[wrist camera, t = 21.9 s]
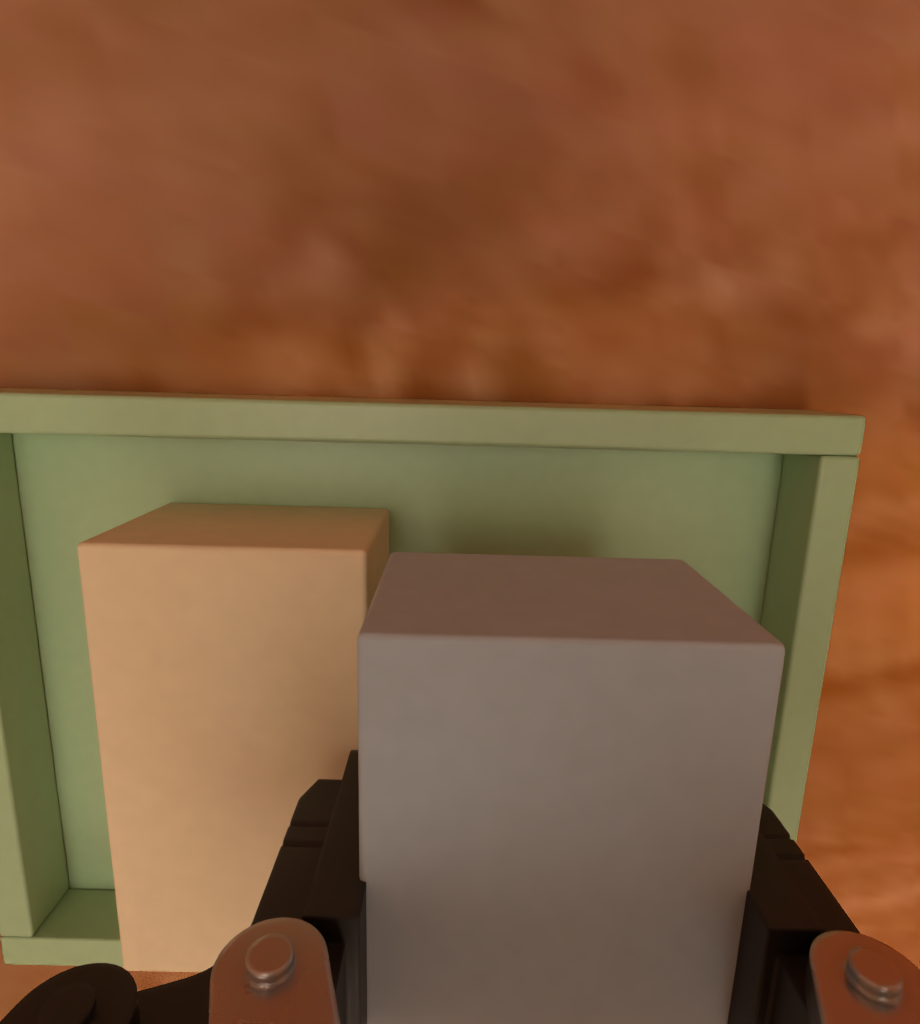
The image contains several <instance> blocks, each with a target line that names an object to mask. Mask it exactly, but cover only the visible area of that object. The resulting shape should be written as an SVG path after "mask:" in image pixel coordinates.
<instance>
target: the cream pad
mask: <svg viewBox="0 0 920 1024" xmlns="http://www.w3.org/2000/svg"><path fill="white" fill-rule="evenodd" d="M77 550H78V559H79V568H80V577H81V586H82V595H83V604H84V613H85V622H86V631H87V640H88V650H89V659H90V668H91V677H92V686H93V695H94V704H95V713H96V722H97V731H98V740H99V750H100V759H101V768H102V777H103V786H104V795H105V804H106V813H107V822H108V831H109V840H110V850H111V859H112V868H113V877H114V886H115V895H116V904H117V913H118V922H119V931H120V940H121V949H122V959H123V968H124V969H125V970H127V971H168V972H203V971H205V970H207V969H208V968H210V967H212V966H213V965H214V963H215V961H216V959H217V957H218V955H219V954H220V952H221V951H222V950H223V948H224V947H225V946H226V945H227V944H228V942H229V941H230V940H231V939H232V938H234V937H235V936H236V935H237V934H239V933H240V932H241V931H243V930H245V929H246V928H248V927H250V926H251V924H252V921H253V919H254V916H255V914H256V911H257V908H258V906H259V903H260V900H261V898H262V895H263V893H264V890H265V887H266V885H267V882H268V879H269V877H270V874H271V871H272V869H273V866H274V864H275V861H276V858H277V856H278V853H279V850H280V848H281V846H282V845H283V840H284V837H285V835H286V832H287V829H288V827H289V826H290V821H291V819H292V816H293V814H294V811H295V808H296V806H297V803H298V800H299V798H300V797H301V796H302V795H303V794H304V793H305V792H306V791H307V790H308V789H309V788H310V787H311V786H312V785H313V784H314V783H315V782H316V781H317V780H318V779H336V780H342V778H343V774H344V771H345V767H346V764H347V761H348V757H349V754H350V751H351V750H358V674H357V637H358V635H359V632H360V630H361V627H362V625H363V622H364V620H365V617H366V615H367V612H368V610H369V607H370V604H371V602H372V599H373V597H374V594H375V592H376V589H377V587H378V584H379V582H380V579H381V577H382V574H383V572H384V569H385V567H386V564H387V562H388V559H389V511H388V510H387V509H385V508H347V507H309V506H271V505H233V504H195V503H169V504H166V505H164V506H162V507H159V508H157V509H155V510H153V511H150V512H148V513H146V514H144V515H141V516H139V517H137V518H135V519H132V520H130V521H128V522H126V523H123V524H121V525H119V526H117V527H114V528H112V529H110V530H108V531H105V532H103V533H101V534H99V535H96V536H94V537H92V538H90V539H87V540H85V541H83V542H81V543H79V544H78V547H77Z"/></svg>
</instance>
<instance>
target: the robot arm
mask: <svg viewBox="0 0 920 1024" xmlns="http://www.w3.org/2000/svg"><path fill="white" fill-rule="evenodd" d="M0 1024H367V922H366V882H364V881H362V880H360V877H359V779H358V750H351V751H350V754H349V757H348V761H347V764H346V767H345V771H344V774H343V778H342V780H336V779H318V780H317V781H316V782H315V783H314V784H313V785H312V786H311V787H310V788H309V789H308V790H307V791H306V792H305V793H304V794H303V795H302V796H301V797H300V798H299V800H298V803H297V806H296V808H295V811H294V814H293V816H292V819H291V821H290V826H289V827H288V829H287V832H286V835H285V837H284V840H283V845H282V846H281V848H280V850H279V853H278V856H277V858H276V861H275V864H274V866H273V869H272V871H271V874H270V877H269V879H268V882H267V885H266V887H265V890H264V893H263V895H262V898H261V900H260V903H259V906H258V908H257V911H256V914H255V916H254V919H253V921H252V924H251V926H250V927H248V928H246V929H245V930H243V931H241V932H240V933H239V934H237V935H236V936H235V937H234V938H232V939H231V940H230V941H229V942H228V944H227V945H226V946H225V947H224V948H223V950H222V951H221V952H220V954H219V955H218V957H217V959H216V961H215V963H214V965H213V966H212V967H210V968H208V969H207V970H205V971H203V972H200V973H198V974H196V975H194V976H191V977H188V978H185V979H181V980H178V981H174V982H171V983H167V984H163V985H160V986H156V987H153V988H149V989H145V990H142V991H138V992H137V987H136V983H135V981H134V978H133V977H132V976H131V974H130V973H129V972H128V971H127V970H125V969H124V968H122V967H120V966H118V965H115V964H110V963H91V964H85V965H81V966H78V967H74V968H71V969H69V970H66V971H64V972H61V973H59V974H58V975H56V976H54V977H52V978H50V979H48V980H47V981H45V982H44V983H42V984H40V985H39V986H38V987H36V988H35V989H34V990H32V991H31V992H30V993H29V994H27V995H26V996H25V997H24V998H23V999H22V1000H21V1001H20V1002H19V1003H18V1004H17V1005H16V1006H15V1007H14V1008H13V1009H12V1010H11V1011H10V1012H9V1013H8V1014H7V1015H6V1016H5V1017H4V1018H3V1020H2V1021H1V1022H0ZM727 1024H920V970H919V969H918V968H917V967H916V966H915V965H914V964H913V963H912V962H911V961H909V960H908V959H907V958H906V957H904V956H903V955H902V954H900V953H899V952H897V951H896V950H894V949H893V948H891V947H889V946H888V945H886V944H884V943H882V942H880V941H878V940H876V939H873V938H871V937H868V936H865V935H862V934H860V932H859V931H858V930H857V928H856V927H855V925H854V924H853V923H852V921H851V920H850V918H849V917H848V916H847V914H846V913H845V911H844V910H843V909H842V907H841V906H840V904H839V903H838V902H837V900H836V899H835V897H834V896H833V895H832V893H831V892H830V890H829V889H828V888H827V886H826V885H825V883H824V882H823V881H822V879H821V878H820V876H819V875H818V874H817V872H816V871H815V869H814V868H813V867H812V865H811V864H810V862H809V861H808V860H805V858H804V854H803V852H802V851H801V850H800V848H799V847H798V845H797V844H796V843H795V841H794V840H791V839H790V834H789V833H788V831H787V830H786V829H785V827H784V826H783V824H782V823H781V822H780V820H779V819H778V817H777V816H776V815H775V813H774V812H773V811H772V810H771V809H770V808H768V807H767V806H766V805H765V804H762V811H761V818H760V825H759V831H758V838H757V845H756V851H755V858H754V865H753V871H752V878H751V885H750V890H748V891H747V895H746V902H745V908H744V915H743V922H742V929H741V935H740V942H739V949H738V955H737V962H736V969H735V976H734V982H733V989H732V996H731V1003H730V1009H729V1016H728V1023H727Z"/></svg>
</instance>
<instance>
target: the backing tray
mask: <svg viewBox="0 0 920 1024" xmlns="http://www.w3.org/2000/svg"><path fill="white" fill-rule="evenodd" d="M865 424H866V418H865V417H863V416H861V415H852V414H843V413H833V412H823V411H815V410H794V409H758V408H721V407H684V406H648V405H611V404H574V403H538V402H501V401H464V400H428V399H391V398H354V397H318V396H281V395H244V394H208V393H171V392H134V391H98V390H61V389H24V388H0V935H1V939H0V940H1V946H2V953H3V959H4V963H5V964H20V965H62V966H81V965H85V964H91V963H110V964H115V965H118V966H120V967H123V959H122V949H121V940H120V931H119V922H118V913H117V904H116V895H115V886H114V877H113V868H112V859H111V850H110V840H109V831H108V822H107V813H106V804H105V795H104V786H103V777H102V768H101V759H100V750H99V740H98V731H97V722H96V713H95V704H94V695H93V686H92V677H91V668H90V659H89V650H88V640H87V631H86V622H85V613H84V604H83V595H82V586H81V577H80V568H79V559H78V550H77V547H78V544H79V543H81V542H83V541H85V540H87V539H90V538H92V537H94V536H96V535H99V534H101V533H103V532H105V531H108V530H110V529H112V528H114V527H117V526H119V525H121V524H123V523H126V522H128V521H130V520H132V519H135V518H137V517H139V516H141V515H144V514H146V513H148V512H150V511H153V510H155V509H157V508H159V507H162V506H164V505H166V504H169V503H195V504H233V505H271V506H309V507H347V508H385V509H387V510H388V511H389V557H390V554H391V553H393V552H413V553H451V554H489V555H527V556H565V557H603V558H641V559H679V560H683V561H685V562H686V563H687V564H688V565H689V566H691V567H692V568H693V569H694V570H695V571H697V572H698V573H699V574H700V575H701V576H703V577H704V578H705V579H706V580H707V581H709V582H710V583H711V584H712V585H713V586H715V587H716V588H717V589H718V590H719V591H720V592H722V593H723V594H724V595H725V596H726V597H728V598H729V599H730V600H731V601H732V602H734V603H735V604H736V605H737V606H738V607H740V608H741V609H742V610H743V611H744V612H746V613H747V614H748V615H749V616H750V617H751V618H753V619H754V620H755V621H756V622H757V623H759V624H760V625H761V626H762V627H763V628H765V629H766V630H767V631H768V632H769V633H771V634H772V635H773V636H774V637H775V638H777V639H778V640H779V641H780V642H781V643H782V644H784V647H785V657H784V664H783V671H782V677H781V684H780V691H779V697H778V704H777V711H776V717H775V724H774V731H773V737H772V744H771V751H770V758H769V764H768V771H767V778H766V784H765V791H764V798H763V804H765V805H766V806H767V807H768V808H770V809H771V810H772V811H773V812H774V813H775V815H776V816H777V817H778V819H779V820H780V822H781V823H782V824H783V826H784V827H785V829H786V830H787V831H788V833H789V834H790V839H791V840H794V841H795V843H796V840H797V834H798V828H799V822H800V816H801V810H802V804H803V798H804V792H805V786H806V780H807V774H808V768H809V762H810V756H811V750H812V744H813V738H814V732H815V726H816V720H817V714H818V708H819V702H820V696H821V690H822V684H823V678H824V672H825V666H826V660H827V654H828V648H829V642H830V636H831V630H832V624H833V618H834V612H835V606H836V600H837V594H838V588H839V582H840V576H841V570H842V564H843V558H844V552H845V546H846V540H847V534H848V528H849V522H850V516H851V510H852V504H853V498H854V492H855V486H856V480H857V474H858V468H859V458H858V457H856V455H859V454H860V452H861V448H862V442H863V436H864V430H865Z"/></svg>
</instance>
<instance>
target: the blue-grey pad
mask: <svg viewBox="0 0 920 1024" xmlns="http://www.w3.org/2000/svg"><path fill="white" fill-rule="evenodd" d="M784 657H785V647H784V644H782V643H781V642H780V641H779V640H778V639H777V638H775V637H774V636H773V635H772V634H771V633H769V632H768V631H767V630H766V629H765V628H763V627H762V626H761V625H760V624H759V623H757V622H756V621H755V620H754V619H753V618H751V617H750V616H749V615H748V614H747V613H746V612H744V611H743V610H742V609H741V608H740V607H738V606H737V605H736V604H735V603H734V602H732V601H731V600H730V599H729V598H728V597H726V596H725V595H724V594H723V593H722V592H720V591H719V590H718V589H717V588H716V587H715V586H713V585H712V584H711V583H710V582H709V581H707V580H706V579H705V578H704V577H703V576H701V575H700V574H699V573H698V572H697V571H695V570H694V569H693V568H692V567H691V566H689V565H688V564H687V563H686V562H685V561H683V560H679V559H641V558H603V557H565V556H527V555H489V554H451V553H413V552H393V553H391V554H390V557H389V559H388V562H387V564H386V567H385V569H384V572H383V574H382V577H381V579H380V582H379V584H378V587H377V589H376V592H375V594H374V597H373V599H372V602H371V604H370V607H369V610H368V612H367V615H366V617H365V620H364V622H363V625H362V627H361V630H360V632H359V635H358V637H357V674H358V779H359V877H360V880H362V881H364V882H366V922H367V1024H727V1023H728V1016H729V1009H730V1003H731V996H732V989H733V982H734V976H735V969H736V962H737V955H738V949H739V942H740V935H741V929H742V922H743V915H744V908H745V902H746V895H747V891H748V890H750V885H751V878H752V871H753V865H754V858H755V851H756V845H757V838H758V831H759V825H760V818H761V811H762V804H763V798H764V791H765V784H766V778H767V771H768V764H769V758H770V751H771V744H772V737H773V731H774V724H775V717H776V711H777V704H778V697H779V691H780V684H781V677H782V671H783V664H784Z"/></svg>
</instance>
